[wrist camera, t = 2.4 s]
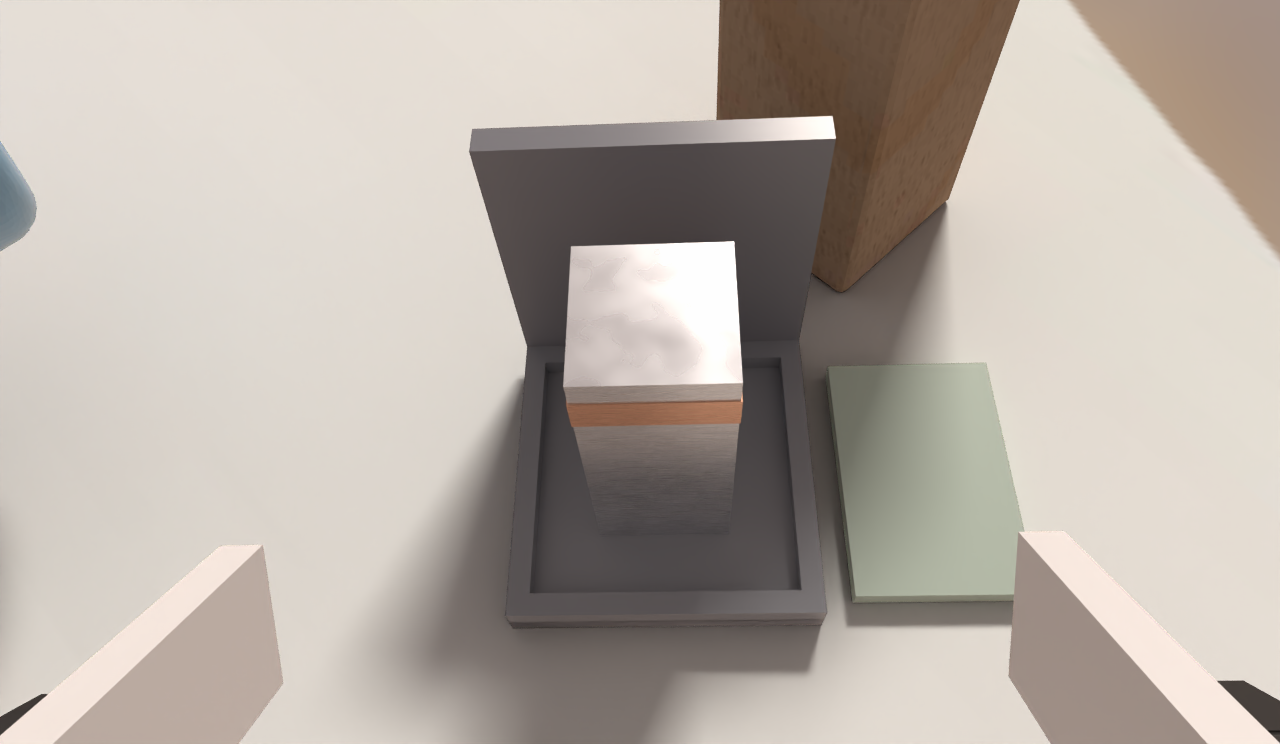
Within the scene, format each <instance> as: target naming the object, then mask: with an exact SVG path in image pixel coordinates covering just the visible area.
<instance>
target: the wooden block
mask: <svg viewBox="0 0 1280 744" xmlns="http://www.w3.org/2000/svg"><path fill="white" fill-rule="evenodd" d="M1019 1H1020V0H720V13H719V49H718V84H717V120H736V119H764V118H792V117H819V116H833V122H834V129H835V136H836V141H835V146H834V152H833V157H832V163H831V168H830V174H829V179H828V185H827V190H826V195H825V201H824V206H823V212H822V217H821V223H820V228H819V234H818V239H817V244H816V250H815V255H814V261H813V266H812V272H811V273H813V274H814V275H815V276H817V277H818V278H819V279H821V280H822V281H823V282H825V283H826V284H828V285H829V286H830V287H832V288H833V289H834V290H836V291H838V292H844V291H846V290H847V289H848V288H850V287H851V286H852V285H853V284H854V283H855V282H856V281H857V280H858V279H860V278H861V277H862V276H863V275H864V274H865V273H866V272H867V271H869V270H870V269H871V268H872V267H873V266H874V265H875V264H876V263H877V262H879V261H880V260H881V259H882V258H883V257H884V256H885V255H886V254H887V253H889V252H890V251H891V250H892V249H893V248H894V247H895V246H896V245H897V244H899V243H900V242H901V241H902V240H903V239H904V238H905V237H906V236H907V235H909V234H910V233H911V232H912V231H913V230H914V229H915V228H916V227H917V226H919V225H920V224H921V223H922V222H923V221H924V220H925V219H926V218H927V217H929V216H930V215H931V214H932V213H933V212H934V211H935V210H936V209H938V208H939V207H940V206H941V205H942V204H943V203H944V202H945V201H946V200H948V199H949V196H950V194H951V191H952V188H953V185H954V182H955V180H956V177H957V174H958V171H959V168H960V166H961V163H962V160H963V157H964V154H965V152H966V149H967V146H968V143H969V140H970V138H971V135H972V132H973V129H974V127H975V124H976V121H977V118H978V115H979V113H980V110H981V107H982V104H983V101H984V99H985V96H986V93H987V90H988V87H989V85H990V82H991V79H992V76H993V73H994V71H995V68H996V65H997V62H998V60H999V57H1000V54H1001V51H1002V48H1003V46H1004V43H1005V40H1006V37H1007V34H1008V32H1009V29H1010V26H1011V23H1012V20H1013V18H1014V15H1015V12H1016V9H1017V6H1018V4H1019Z"/></svg>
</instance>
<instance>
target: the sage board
mask: <svg viewBox="0 0 1280 744" xmlns="http://www.w3.org/2000/svg"><path fill="white" fill-rule="evenodd" d="M826 384H827V392H828V401H829V409H830V417H831V426H832V434H833V443H834V451H835V460H836V468H837V476H838V485H839V493H840V502H841V510H842V519H843V527H844V535H845V544H846V552H847V561H848V569H849V578H850V586H851V594H852V603H880V602H972V601H1014V587H1015V572H1016V558H1017V543H1018V532H1025V531H1024V527H1023V523H1022V518H1021V514H1020V509H1019V505H1018V501H1017V496H1016V492H1015V487H1014V483H1013V479H1012V474H1011V470H1010V465H1009V461H1008V457H1007V452H1006V448H1005V443H1004V439H1003V435H1002V430H1001V426H1000V422H999V417H998V413H997V408H996V404H995V400H994V395H993V391H992V386H991V382H990V378H989V373H988V369H987V364H986V363H945V364H902V365H859V366H828V368H827V372H826Z"/></svg>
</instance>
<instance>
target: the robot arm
mask: <svg viewBox="0 0 1280 744" xmlns="http://www.w3.org/2000/svg"><path fill="white" fill-rule="evenodd" d="M36 209H37V207H36V201H35V197H34V194H33V193H32V191H31V189H30V187H29V185H28V184H27V182H26V180H25V179H24V177H23V176H22V174H21V172H20V171H19V169H18V168H17V166H16V165H15V163H14V162H13V160H12V158H11V157H10V155H9V154H8V152H7V151H6V149H5V148H4V146H3V145H2V143H1V141H0V251H2V250H3V249H5V248H7V247H8V246H10V245H12V244H13V243H15V242H17V241H18V240H20V239H21V238H23V237H24V236H25V234H26V233H27V232H28V231H29V229H30V227H31V226H32V224H33V223H34V221H35V218H36ZM1009 678H1010V679H1011V681H1012V683H1013V684H1014V686H1015V687H1016V689H1017V691H1018V692H1019V694H1020V695H1021V697H1022V698H1023V700H1024V702H1025V703H1026V705H1027V706H1028V708H1029V710H1030V711H1031V713H1032V714H1033V716H1034V718H1035V719H1036V721H1037V722H1038V724H1039V726H1040V727H1041V729H1042V730H1043V732H1044V733H1045V735H1046V737H1047V738H1048V740H1049V741H1050V743H1051V744H1280V701H1279V700H1277V699H1276V698H1274V697H1272V696H1270V695H1268V694H1267V693H1265V692H1263V691H1261V690H1259V689H1258V688H1256V687H1254V686H1252V685H1250V684H1249V683H1247V682H1245V681H1216V680H1215V679H1214V678H1213V677H1212V676H1211V675H1210V674H1209V673H1208V672H1207V671H1206V670H1205V669H1204V668H1203V667H1202V666H1201V665H1200V664H1199V663H1198V662H1197V661H1196V660H1195V659H1194V658H1193V657H1192V656H1191V655H1190V654H1189V653H1188V652H1187V651H1186V650H1185V649H1184V648H1183V647H1182V646H1181V645H1180V644H1179V643H1178V642H1177V641H1176V640H1175V639H1174V638H1173V637H1172V636H1171V635H1170V634H1168V633H1167V632H1166V631H1165V630H1164V629H1163V628H1162V627H1161V626H1160V625H1159V624H1158V623H1157V622H1156V621H1155V620H1154V619H1153V618H1152V617H1151V616H1150V615H1149V614H1148V613H1147V612H1146V611H1145V610H1144V609H1143V608H1142V607H1141V606H1140V605H1139V604H1138V603H1137V602H1136V601H1135V600H1134V599H1133V598H1132V597H1131V596H1130V595H1129V594H1128V593H1127V592H1126V591H1125V590H1124V589H1123V588H1122V587H1121V586H1120V585H1119V584H1118V583H1117V582H1116V581H1115V580H1114V579H1113V578H1112V577H1111V576H1110V575H1109V574H1108V573H1107V572H1106V571H1105V570H1103V569H1102V568H1101V567H1100V566H1099V565H1098V564H1097V563H1096V562H1095V561H1094V560H1093V559H1092V558H1091V557H1090V556H1089V555H1088V554H1087V553H1086V552H1085V551H1084V550H1083V549H1082V548H1081V547H1080V546H1079V545H1078V544H1077V543H1076V542H1075V541H1074V540H1073V539H1072V538H1071V537H1070V536H1069V535H1068V534H1067V533H1066V532H1065V531H1031V532H1018V543H1017V558H1016V572H1015V587H1014V602H1013V617H1012V632H1011V646H1010V661H1009ZM282 684H283V677H282V670H281V664H280V657H279V650H278V643H277V637H276V630H275V623H274V616H273V610H272V603H271V596H270V590H269V583H268V576H267V569H266V563H265V556H264V549H263V545H224V546H220V547H218V548H217V549H216V550H215V551H214V552H213V553H211V554H210V555H209V556H208V557H207V558H206V559H204V560H203V561H202V562H201V563H200V564H199V565H198V566H196V567H195V568H194V569H193V570H192V571H191V572H189V573H188V574H187V575H186V576H185V577H184V578H182V579H181V580H180V581H179V582H178V583H177V584H175V585H174V586H173V587H172V588H171V589H170V590H169V591H167V592H166V593H165V594H164V595H163V596H162V597H160V598H159V599H158V600H157V601H156V602H155V603H153V604H152V605H151V606H150V607H149V608H148V609H146V610H145V611H144V612H143V613H142V614H141V615H140V616H138V617H137V618H136V619H135V620H134V621H133V622H131V623H130V624H129V625H128V626H127V627H126V628H124V629H123V630H122V631H121V632H120V633H119V634H117V635H116V636H115V637H114V638H113V639H112V640H111V641H109V642H108V643H107V644H106V645H105V646H104V647H102V648H101V649H100V650H99V651H98V652H97V653H95V654H94V655H93V656H92V657H91V658H90V659H88V660H87V661H86V662H85V663H84V664H83V665H82V666H80V667H79V668H78V669H77V670H76V671H75V672H73V673H72V674H71V675H70V676H69V677H68V678H66V679H65V680H64V681H63V682H62V683H61V684H59V685H58V686H57V687H56V688H55V689H54V690H53V691H51V692H50V693H49V694H41V695H39V696H37V697H35V698H34V699H32V700H30V701H28V702H26V703H24V704H23V705H21V706H19V707H17V708H15V709H14V710H12V711H10V712H8V713H6V714H4V715H3V716H1V717H0V744H239V742H240V741H241V740H242V738H243V737H244V735H245V734H246V733H247V731H248V730H249V729H250V727H251V726H252V725H253V723H254V722H255V721H256V719H257V718H258V717H259V715H260V714H261V713H262V711H263V710H264V709H265V707H266V706H267V705H268V703H269V702H270V700H271V699H272V698H273V696H274V695H275V694H276V692H277V691H278V690H279V688H280V687H281V686H282Z"/></svg>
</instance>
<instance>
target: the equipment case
mask: <svg viewBox="0 0 1280 744" xmlns="http://www.w3.org/2000/svg"><path fill="white" fill-rule="evenodd" d="M835 141H836V136H835V129H834V122H833V116H819V117H792V118H764V119H736V120H709V121H681V122H653V123H626V124H598V125H570V126H543V127H515V128H487V129H472V135H471V142H470V149H469V152H470V156H471V159H472V163H473V166H474V169H475V173H476V176H477V179H478V183H479V186H480V189H481V193H482V196H483V200H484V203H485V206H486V210H487V213H488V216H489V220H490V223H491V226H492V230H493V233H494V237H495V240H496V243H497V247H498V250H499V253H500V257H501V260H502V263H503V267H504V270H505V274H506V277H507V280H508V284H509V287H510V290H511V294H512V297H513V300H514V304H515V307H516V311H517V314H518V317H519V321H520V324H521V327H522V331H523V334H524V337H525V341H526V344H527V356H526V368H525V381H524V393H523V405H522V417H521V430H520V442H519V454H518V466H517V479H516V491H515V503H514V516H513V528H512V540H511V552H510V565H509V577H508V589H507V601H506V614H505V616H506V618H507V619H508V621H509V622H510V624H511V626H512V627H513V628H582V627H684V626H786V625H822V623H823V621H824V618H825V616H826V614H827V607H826V597H825V587H824V578H823V568H822V558H821V549H820V539H819V529H818V520H817V510H816V500H815V491H814V481H813V471H812V462H811V452H810V442H809V433H808V423H807V413H806V404H805V394H804V384H803V374H802V365H801V355H800V345H799V337H800V332H801V326H802V321H803V315H804V310H805V304H806V299H807V293H808V288H809V283H810V277H811V272H812V266H813V261H814V255H815V250H816V244H817V239H818V234H819V228H820V223H821V217H822V212H823V206H824V201H825V195H826V190H827V185H828V179H829V174H830V168H831V163H832V157H833V152H834V146H835ZM704 242H734V250H735V266H736V282H737V298H738V314H739V329H740V345H741V361H742V377H743V387H742V397H743V405H742V416H741V423H740V424H739V431H738V442H737V453H736V463H735V474H734V485H733V496H732V507H731V518H730V529H729V534H700V535H631V536H601V535H600V531H599V527H598V523H597V519H596V515H595V511H594V507H593V503H592V500H591V496H590V492H589V488H588V484H587V480H586V476H585V472H584V468H583V464H582V460H581V456H580V452H579V448H578V444H577V440H576V436H575V432H574V428H573V427H571V423H570V419H569V415H568V411H567V407H566V396H565V392H564V388H563V382H564V365H565V347H566V329H567V311H568V293H569V275H570V257H571V246H603V245H636V244H670V243H704Z"/></svg>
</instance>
